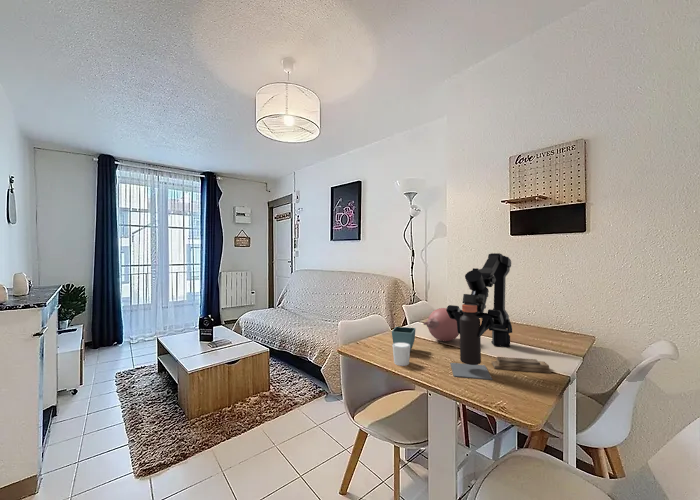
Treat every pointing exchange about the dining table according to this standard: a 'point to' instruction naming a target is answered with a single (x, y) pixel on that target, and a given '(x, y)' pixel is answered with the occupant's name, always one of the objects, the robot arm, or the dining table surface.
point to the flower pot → (403, 335)
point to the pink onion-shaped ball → (442, 325)
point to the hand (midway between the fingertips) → (468, 334)
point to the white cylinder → (401, 353)
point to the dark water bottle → (470, 335)
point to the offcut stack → (521, 364)
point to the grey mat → (470, 371)
